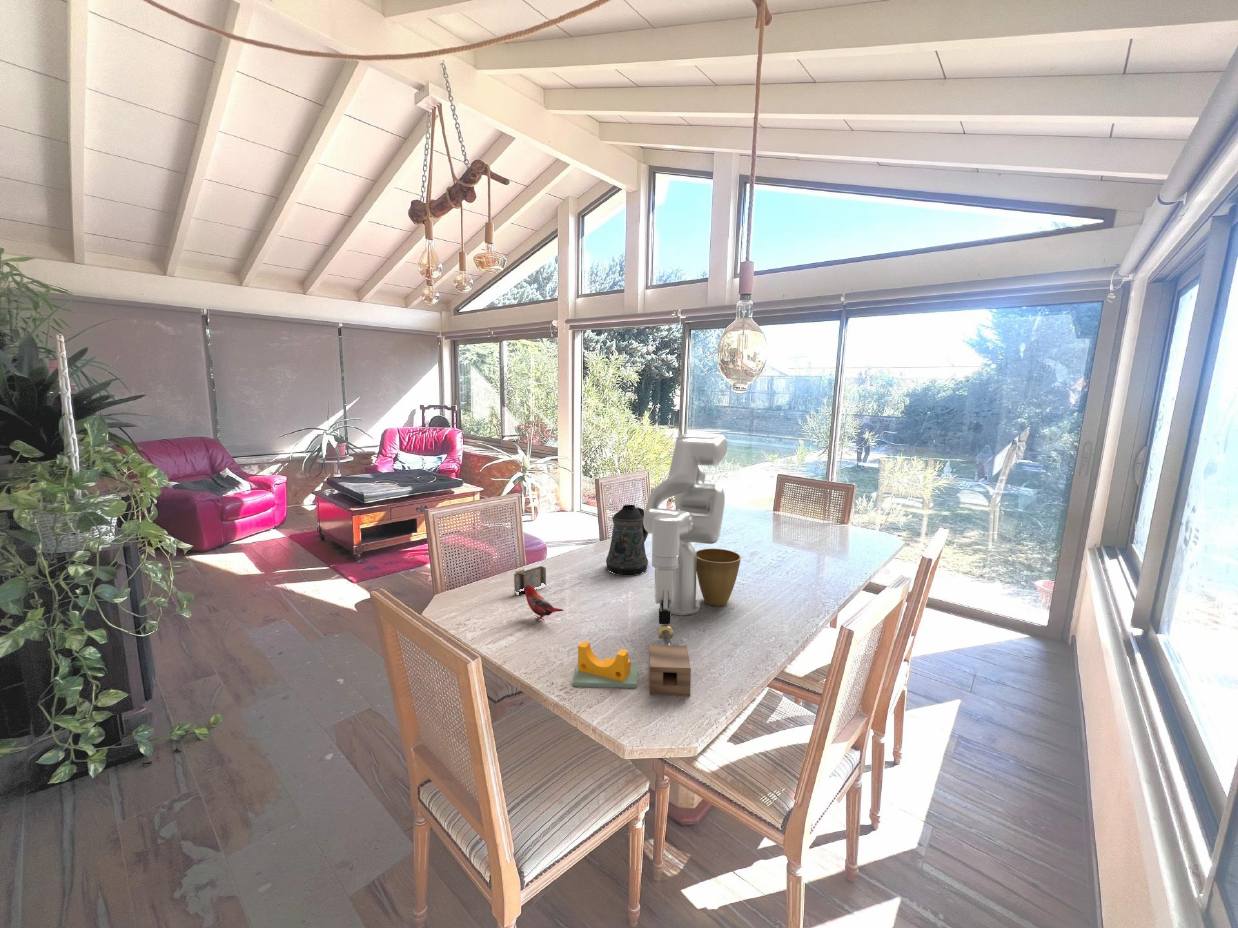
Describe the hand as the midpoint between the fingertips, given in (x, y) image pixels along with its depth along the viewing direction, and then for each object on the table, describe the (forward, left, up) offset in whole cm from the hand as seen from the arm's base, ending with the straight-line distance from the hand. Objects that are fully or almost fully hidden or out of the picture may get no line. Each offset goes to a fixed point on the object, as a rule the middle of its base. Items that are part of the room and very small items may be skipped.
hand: (664, 622), depth 138 cm
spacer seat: (+21, -15, -4) cm, 26 cm away
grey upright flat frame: (-30, -45, -5) cm, 55 cm away
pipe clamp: (+20, -15, -3) cm, 26 cm away
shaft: (+13, 0, -2) cm, 13 cm away
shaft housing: (+23, 0, -4) cm, 23 cm away
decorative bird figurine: (-7, -36, -4) cm, 37 cm away
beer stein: (-55, -12, -4) cm, 57 cm away
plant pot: (-24, +18, -4) cm, 31 cm away
